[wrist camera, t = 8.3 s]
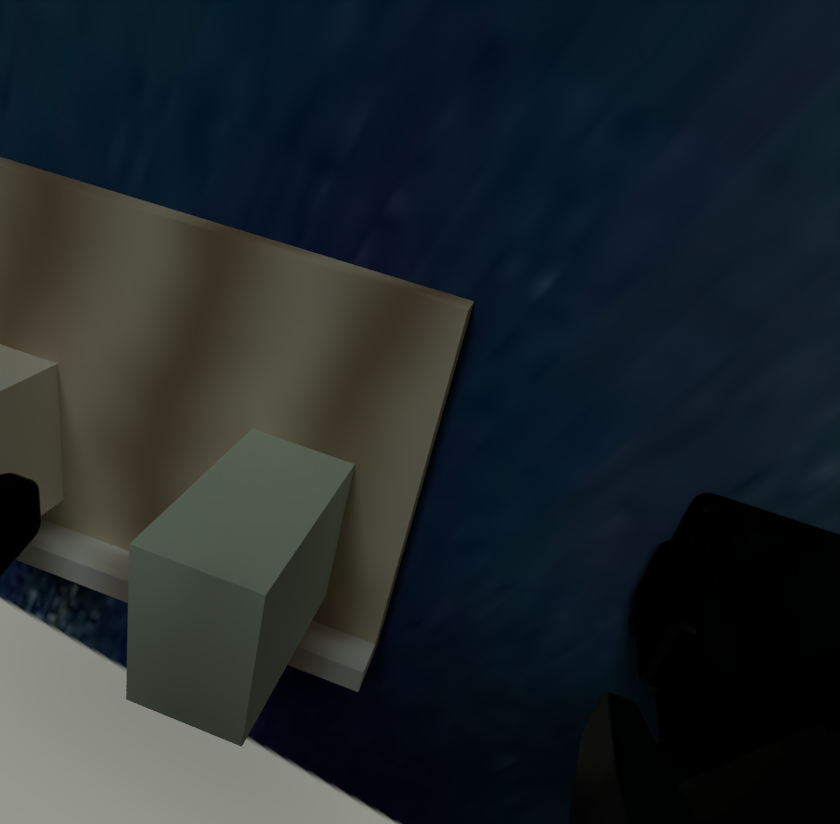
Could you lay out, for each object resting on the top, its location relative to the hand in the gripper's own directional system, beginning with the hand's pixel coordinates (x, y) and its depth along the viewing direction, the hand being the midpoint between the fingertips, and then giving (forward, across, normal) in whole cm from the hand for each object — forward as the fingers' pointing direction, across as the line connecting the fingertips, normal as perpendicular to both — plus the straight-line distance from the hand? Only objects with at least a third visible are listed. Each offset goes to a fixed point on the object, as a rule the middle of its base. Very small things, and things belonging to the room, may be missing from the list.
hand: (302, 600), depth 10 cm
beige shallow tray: (+13, +10, +7) cm, 18 cm away
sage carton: (+12, +4, +9) cm, 16 cm away
